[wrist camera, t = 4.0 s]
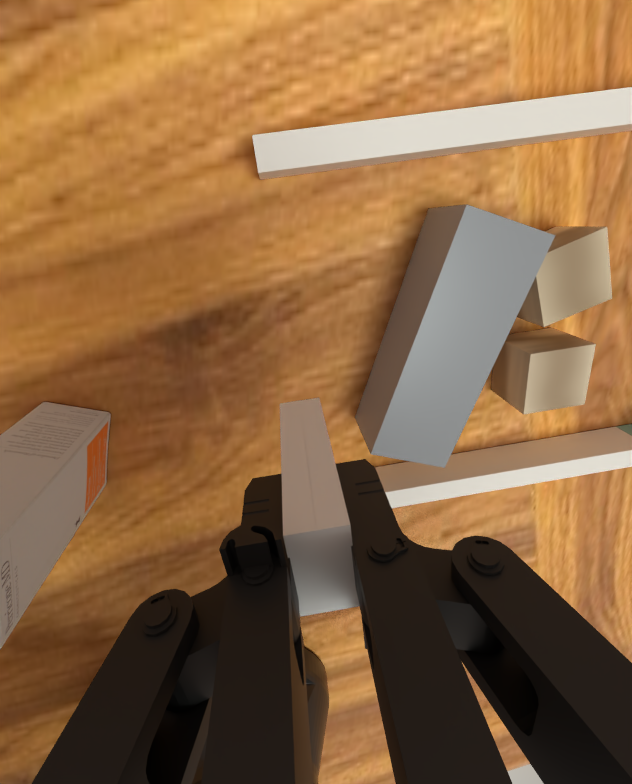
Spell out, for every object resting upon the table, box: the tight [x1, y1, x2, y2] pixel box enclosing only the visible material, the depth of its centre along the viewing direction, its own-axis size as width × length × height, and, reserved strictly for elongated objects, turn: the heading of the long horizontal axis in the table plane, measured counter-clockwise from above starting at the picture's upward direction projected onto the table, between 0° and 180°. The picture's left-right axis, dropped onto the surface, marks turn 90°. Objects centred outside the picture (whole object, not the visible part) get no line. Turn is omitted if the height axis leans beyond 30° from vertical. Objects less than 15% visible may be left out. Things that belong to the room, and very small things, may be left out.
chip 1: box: [517, 227, 612, 327], centre depth 22 cm, size 4×4×4 cm
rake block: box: [355, 205, 555, 468], centre depth 23 cm, size 5×14×5 cm, turn 164°
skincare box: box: [0, 402, 111, 649], centre depth 20 cm, size 6×4×12 cm
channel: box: [252, 87, 632, 508], centre depth 24 cm, size 24×23×3 cm
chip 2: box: [491, 328, 596, 414], centre depth 25 cm, size 4×4×4 cm
